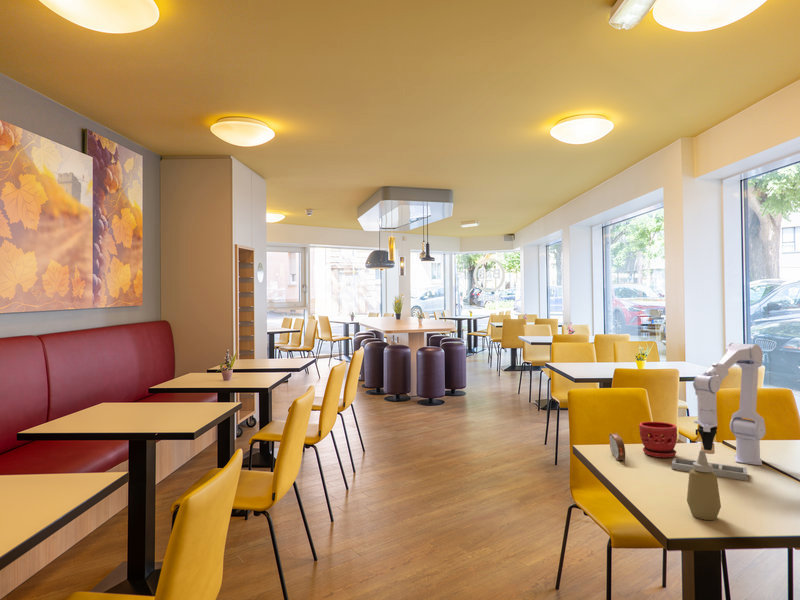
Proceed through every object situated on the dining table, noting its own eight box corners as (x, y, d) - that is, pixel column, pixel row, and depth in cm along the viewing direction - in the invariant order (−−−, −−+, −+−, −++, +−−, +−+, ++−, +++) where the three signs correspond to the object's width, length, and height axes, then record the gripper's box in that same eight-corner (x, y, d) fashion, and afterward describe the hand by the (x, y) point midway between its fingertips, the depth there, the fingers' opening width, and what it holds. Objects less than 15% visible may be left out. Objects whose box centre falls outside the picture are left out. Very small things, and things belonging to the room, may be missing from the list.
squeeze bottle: (680, 510, 137) (678, 447, 137) (707, 509, 138) (705, 446, 138) (700, 523, 129) (698, 455, 129) (728, 522, 129) (727, 454, 130)
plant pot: (678, 452, 192) (677, 422, 192) (676, 461, 181) (675, 429, 181) (641, 448, 199) (641, 418, 199) (638, 456, 188) (637, 425, 188)
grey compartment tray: (673, 463, 179) (673, 457, 179) (746, 473, 167) (746, 467, 167) (671, 469, 172) (671, 463, 173) (747, 480, 160) (747, 474, 160)
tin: (626, 463, 180) (626, 440, 180) (617, 463, 180) (616, 440, 180) (616, 451, 194) (616, 430, 194) (608, 451, 195) (608, 430, 195)
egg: (701, 450, 173) (701, 437, 173) (714, 451, 170) (714, 438, 170) (700, 452, 169) (700, 439, 169) (714, 454, 167) (714, 441, 167)
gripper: (694, 404, 178) (695, 441, 178) (692, 411, 166) (693, 451, 166) (717, 406, 174) (718, 444, 174) (717, 414, 162) (718, 454, 162)
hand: (707, 448), depth 170 cm, fingers closed on egg, 4 cm apart
